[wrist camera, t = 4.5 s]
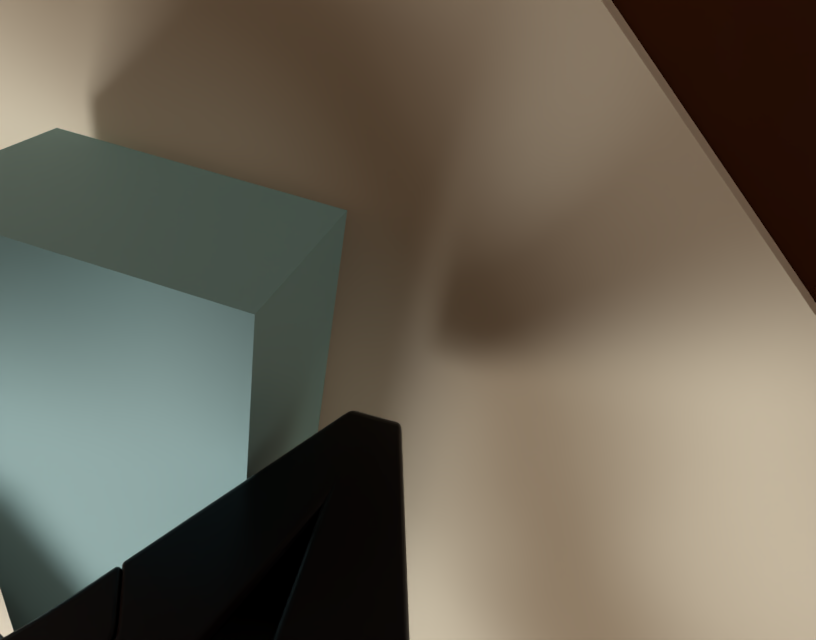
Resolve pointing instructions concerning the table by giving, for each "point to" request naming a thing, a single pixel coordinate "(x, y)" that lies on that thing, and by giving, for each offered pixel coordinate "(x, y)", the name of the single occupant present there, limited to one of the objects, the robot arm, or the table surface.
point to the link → (144, 350)
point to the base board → (499, 290)
